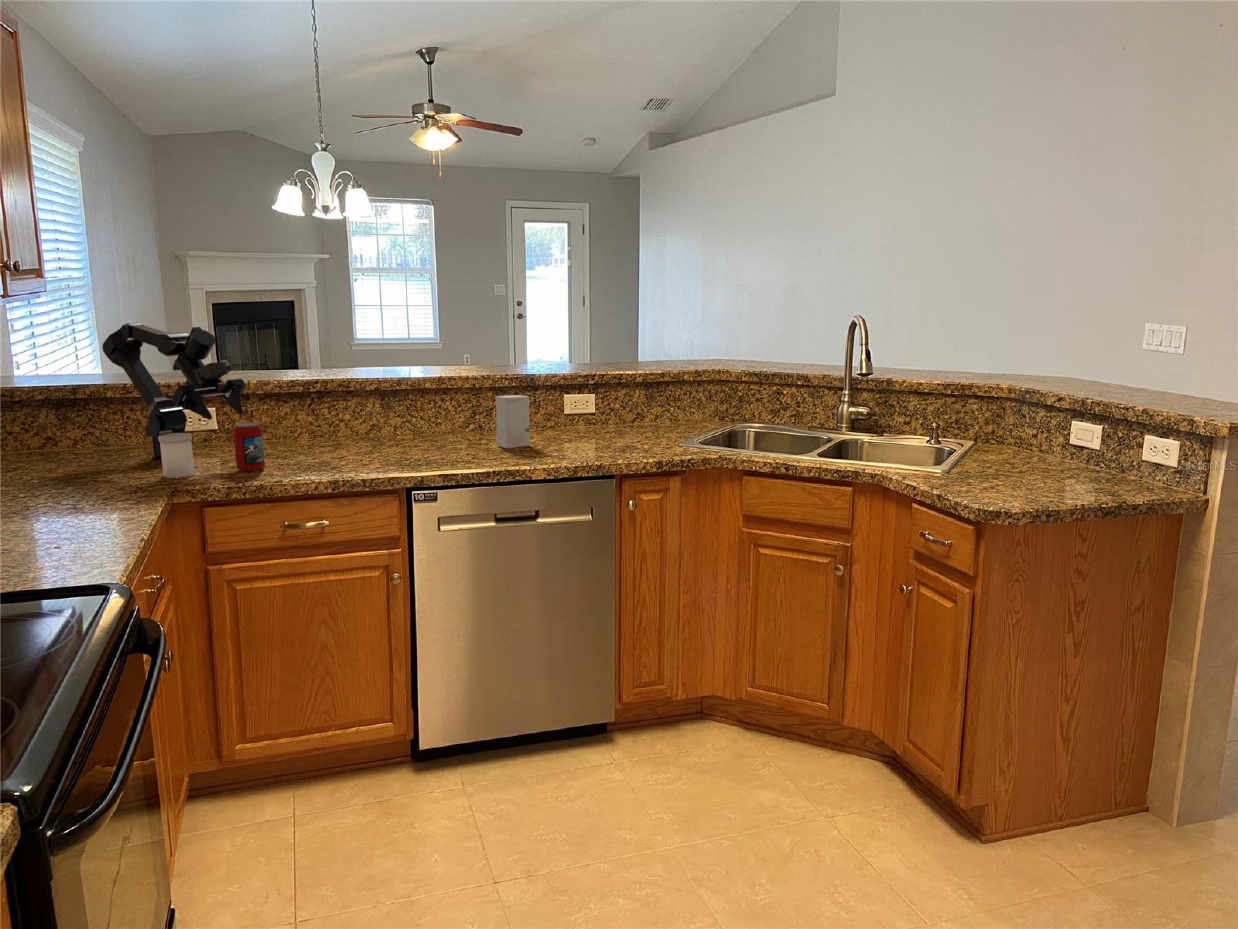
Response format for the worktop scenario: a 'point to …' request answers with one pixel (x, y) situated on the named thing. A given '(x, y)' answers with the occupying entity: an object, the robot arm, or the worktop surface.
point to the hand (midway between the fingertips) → (226, 416)
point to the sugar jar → (176, 455)
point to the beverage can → (248, 446)
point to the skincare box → (512, 421)
